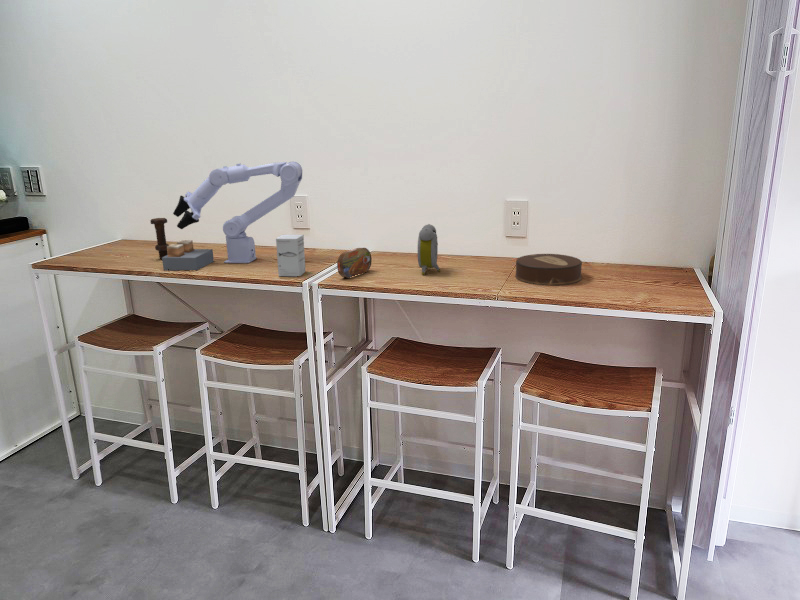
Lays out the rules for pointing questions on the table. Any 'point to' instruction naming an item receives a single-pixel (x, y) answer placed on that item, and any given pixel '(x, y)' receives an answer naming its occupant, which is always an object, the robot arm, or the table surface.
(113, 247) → the table surface
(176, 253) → the tan cube
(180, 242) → the tan wooden cube
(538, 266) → the container
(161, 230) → the bolt
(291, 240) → the supplement box
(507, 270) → the table surface
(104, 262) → the table surface
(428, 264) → the grey upright figure
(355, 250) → the tin
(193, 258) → the socket block
